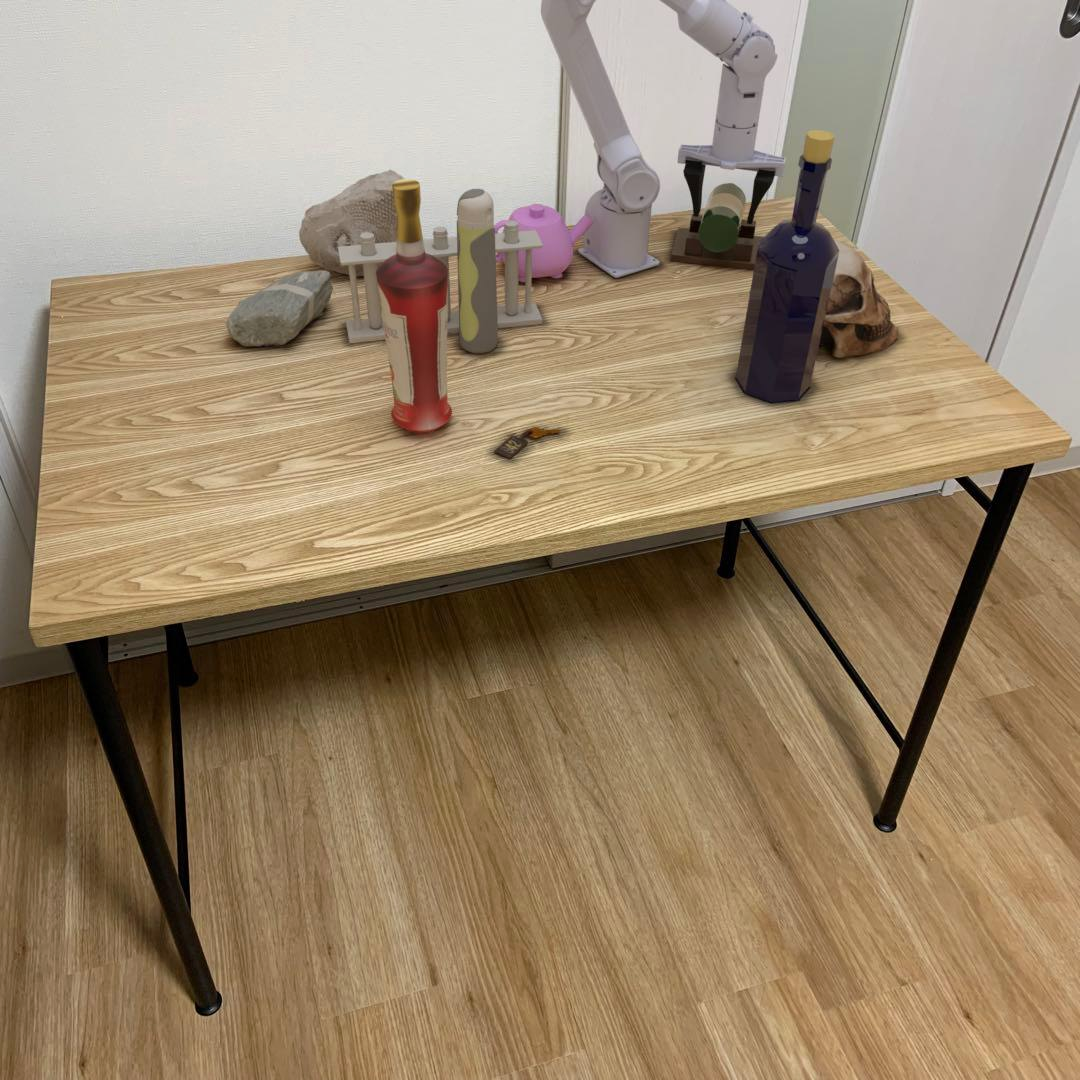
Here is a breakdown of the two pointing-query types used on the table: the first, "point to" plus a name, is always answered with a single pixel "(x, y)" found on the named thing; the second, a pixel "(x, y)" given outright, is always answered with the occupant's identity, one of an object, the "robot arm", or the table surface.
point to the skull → (855, 309)
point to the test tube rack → (441, 249)
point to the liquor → (415, 320)
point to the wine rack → (735, 257)
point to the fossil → (351, 220)
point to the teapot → (546, 240)
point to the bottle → (790, 290)
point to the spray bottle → (477, 272)
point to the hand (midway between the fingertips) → (723, 217)
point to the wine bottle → (722, 218)
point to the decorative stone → (280, 309)
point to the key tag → (520, 441)
